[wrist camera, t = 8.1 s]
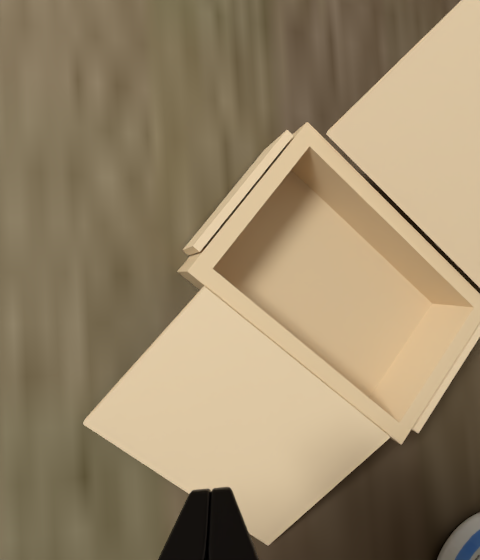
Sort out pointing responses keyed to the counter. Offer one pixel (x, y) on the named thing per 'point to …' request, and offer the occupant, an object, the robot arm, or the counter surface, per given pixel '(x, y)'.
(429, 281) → the carton
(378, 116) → the flap
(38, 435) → the counter surface
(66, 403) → the counter surface
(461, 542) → the supplement tub
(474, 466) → the counter surface
